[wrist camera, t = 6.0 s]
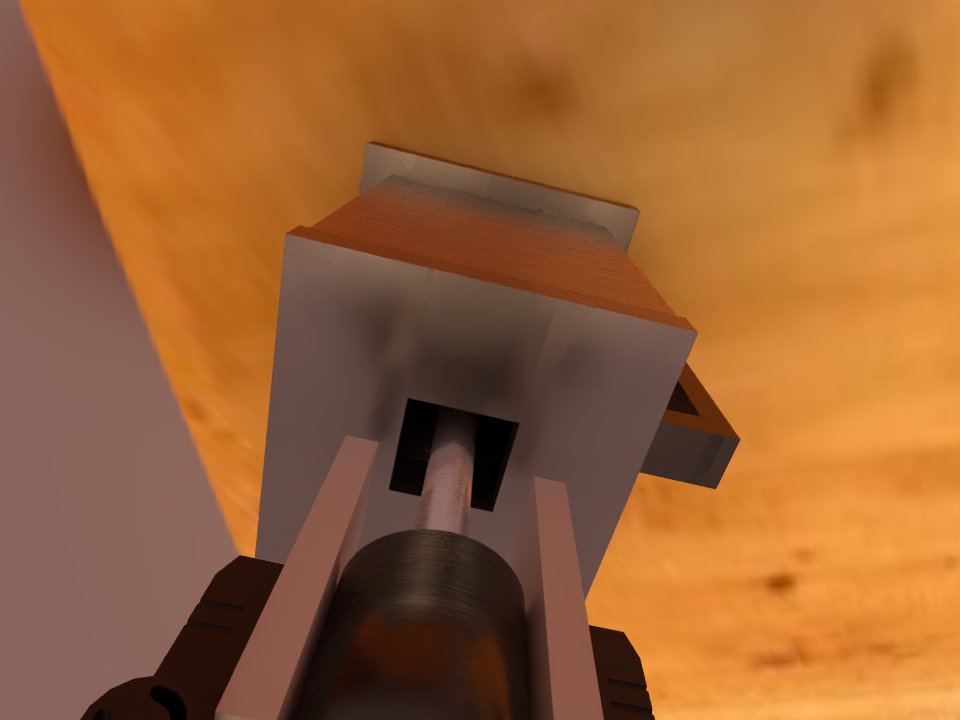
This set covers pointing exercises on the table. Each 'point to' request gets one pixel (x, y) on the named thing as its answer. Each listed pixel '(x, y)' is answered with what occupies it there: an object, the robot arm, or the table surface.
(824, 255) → the table surface
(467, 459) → the plunger
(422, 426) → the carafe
